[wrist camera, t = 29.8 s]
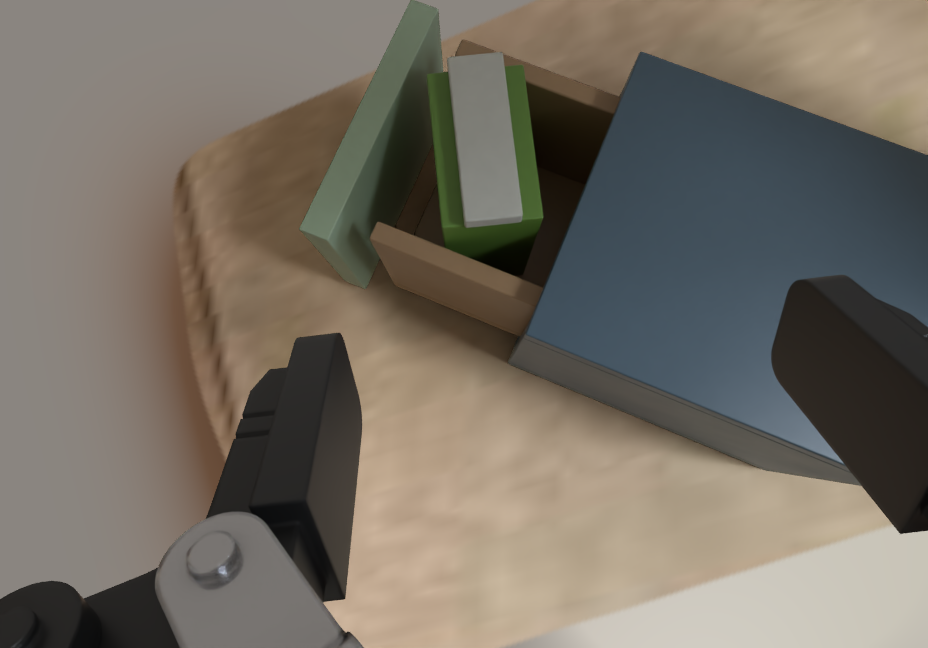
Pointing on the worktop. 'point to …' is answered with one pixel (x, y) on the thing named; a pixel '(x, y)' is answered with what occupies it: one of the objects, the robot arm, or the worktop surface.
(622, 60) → the worktop surface
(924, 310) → the cabinet
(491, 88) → the green white block
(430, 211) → the drawer
